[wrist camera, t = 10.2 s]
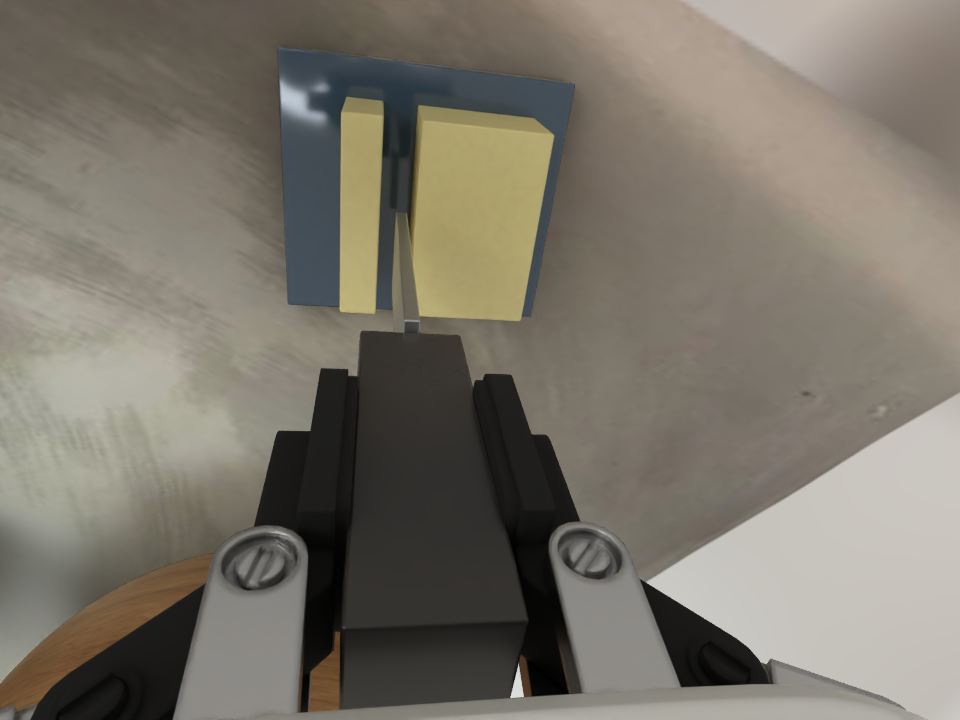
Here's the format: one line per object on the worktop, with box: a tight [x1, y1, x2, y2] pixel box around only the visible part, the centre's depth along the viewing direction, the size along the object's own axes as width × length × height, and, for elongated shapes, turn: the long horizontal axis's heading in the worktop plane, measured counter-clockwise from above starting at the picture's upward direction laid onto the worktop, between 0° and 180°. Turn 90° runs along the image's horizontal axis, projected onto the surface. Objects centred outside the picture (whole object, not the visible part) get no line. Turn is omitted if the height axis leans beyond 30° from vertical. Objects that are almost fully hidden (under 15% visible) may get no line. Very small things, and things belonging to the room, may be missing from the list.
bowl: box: [0, 553, 340, 712], centre depth 34 cm, size 25×25×15 cm
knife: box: [339, 212, 529, 710], centre depth 15 cm, size 3×2×17 cm
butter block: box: [409, 105, 554, 321], centre depth 26 cm, size 8×5×4 cm, turn 173°
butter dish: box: [277, 45, 575, 317], centre depth 27 cm, size 11×12×1 cm
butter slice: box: [340, 97, 384, 314], centre depth 25 cm, size 8×2×4 cm, turn 173°
